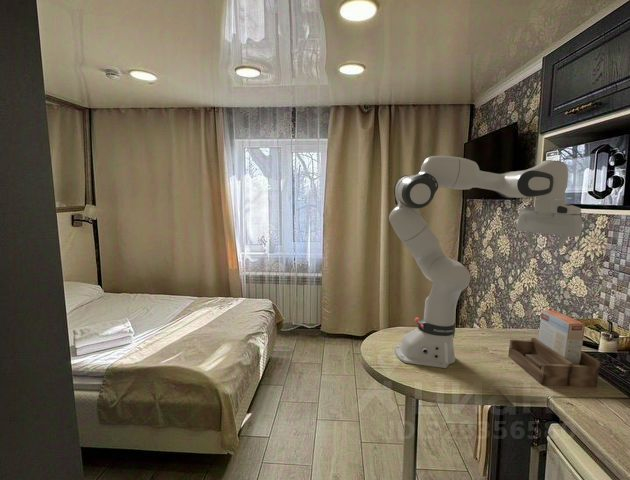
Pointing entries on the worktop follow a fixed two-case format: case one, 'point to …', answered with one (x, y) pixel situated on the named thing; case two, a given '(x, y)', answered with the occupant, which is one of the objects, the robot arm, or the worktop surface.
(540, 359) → the dark stained offcut
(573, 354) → the cracker box
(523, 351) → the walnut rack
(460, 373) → the worktop surface
